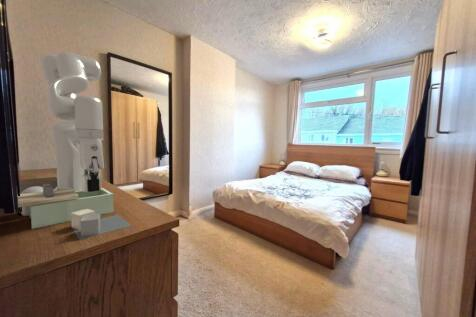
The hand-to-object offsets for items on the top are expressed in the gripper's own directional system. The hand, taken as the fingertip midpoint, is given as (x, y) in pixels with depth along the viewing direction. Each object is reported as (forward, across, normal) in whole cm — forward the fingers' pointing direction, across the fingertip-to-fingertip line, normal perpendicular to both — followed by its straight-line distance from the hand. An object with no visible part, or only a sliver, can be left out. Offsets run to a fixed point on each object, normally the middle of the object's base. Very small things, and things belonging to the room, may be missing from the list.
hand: (91, 189), depth 69 cm
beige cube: (+7, -13, +5) cm, 16 cm away
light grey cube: (+7, -19, +4) cm, 21 cm away
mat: (+8, -16, +1) cm, 18 cm away
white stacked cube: (0, 0, 0) cm, 0 cm away
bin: (+8, 0, +5) cm, 9 cm away
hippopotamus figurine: (+8, +11, +11) cm, 17 cm away
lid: (+1, 0, +11) cm, 11 cm away
